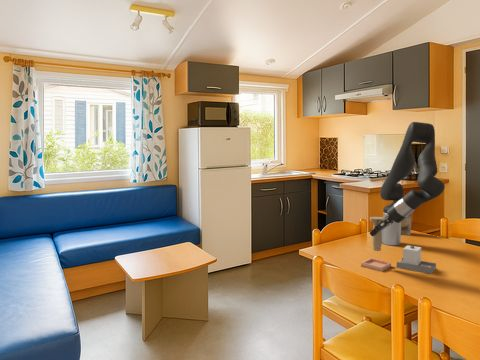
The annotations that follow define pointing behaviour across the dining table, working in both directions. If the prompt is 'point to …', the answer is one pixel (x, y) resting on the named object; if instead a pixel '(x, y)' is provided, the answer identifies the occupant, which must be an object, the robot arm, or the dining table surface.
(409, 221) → the coffee box
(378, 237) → the handle
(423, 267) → the blue-grey shallow bin
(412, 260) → the cover
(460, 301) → the dining table surface
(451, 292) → the dining table surface
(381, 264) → the tray
